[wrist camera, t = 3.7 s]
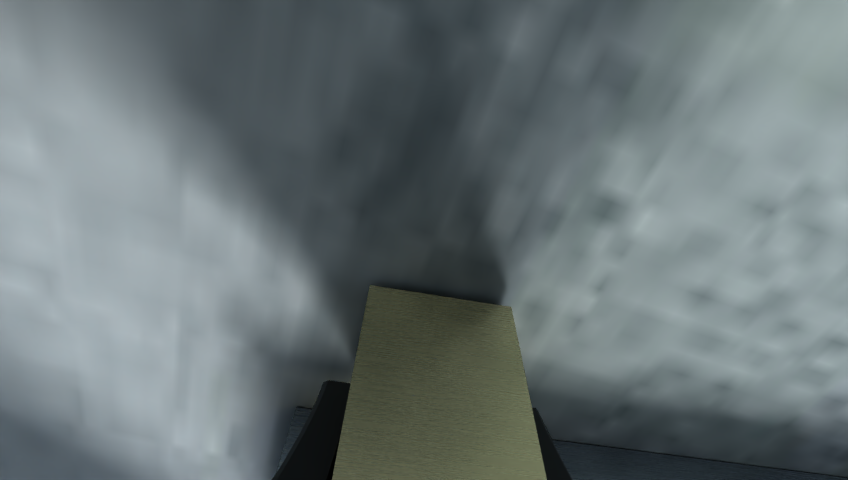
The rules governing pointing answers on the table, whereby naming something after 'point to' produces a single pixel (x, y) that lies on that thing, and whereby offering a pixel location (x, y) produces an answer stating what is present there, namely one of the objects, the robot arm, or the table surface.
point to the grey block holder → (627, 463)
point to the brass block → (437, 394)
